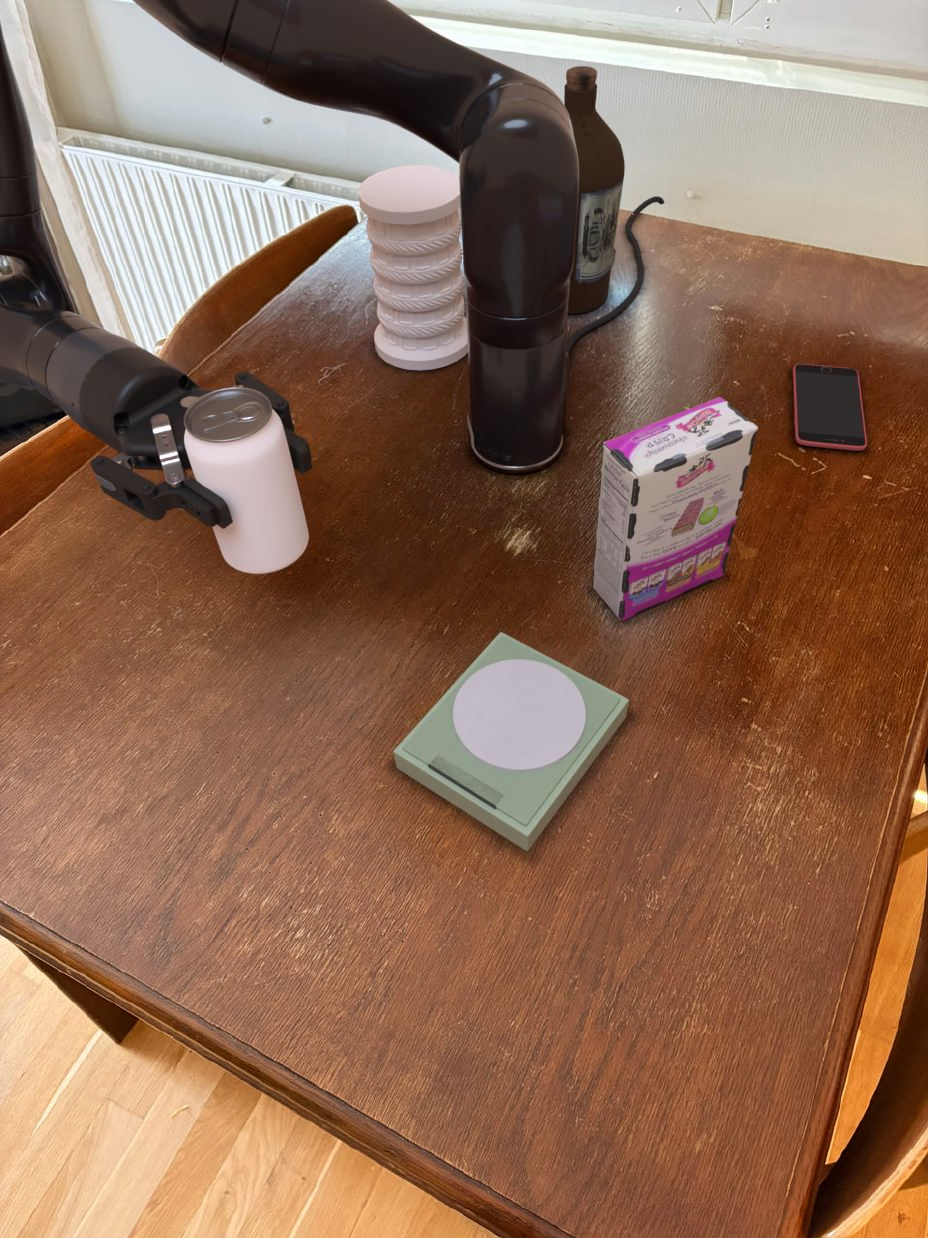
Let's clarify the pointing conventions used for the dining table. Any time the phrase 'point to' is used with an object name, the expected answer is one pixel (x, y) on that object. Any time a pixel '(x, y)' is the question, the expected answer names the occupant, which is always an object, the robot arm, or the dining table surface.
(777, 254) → the dining table surface
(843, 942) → the dining table surface
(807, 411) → the smartphone
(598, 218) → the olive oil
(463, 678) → the scale
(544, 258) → the robot arm
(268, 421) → the can
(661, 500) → the candy bar box
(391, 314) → the decorative container
